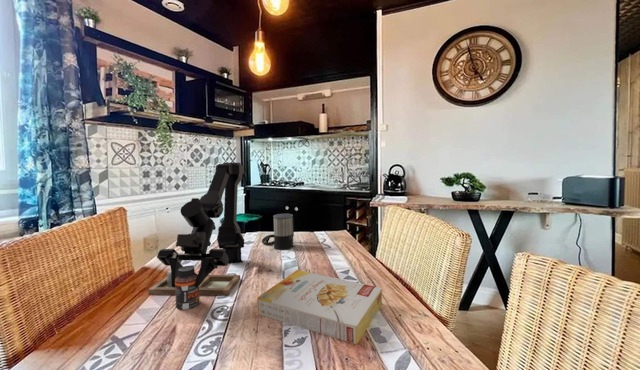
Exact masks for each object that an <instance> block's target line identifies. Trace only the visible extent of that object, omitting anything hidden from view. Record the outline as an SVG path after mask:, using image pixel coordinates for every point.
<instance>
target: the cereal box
mask: <svg viewBox="0 0 640 370" xmlns="http://www.w3.org/2000/svg"><path fill="white" fill-rule="evenodd" d="M382 299H383V289H382V287H379V286H375V285H374V286H373V285H368V284H365V283H359V282H355V281H351V280H346V279H343V278H342V279H341V278H337V277H332V276H328V275H323V274H318V273H314V272H309V271H304V270H299V269H296V270H295V271H293V272H292V273H291V274H289V275H288V276H286V277H285V278H283V279H282V280H281V281H279V282H278V283H276V284H275V285H273V286H272V287H271V288H269V289H268V290H266V291H265V292H263V293H262V294H260V295H259V296H257V299H256V300H257V313H258V315H260V316H263V317H266V318H270V319H274V320H276V321H278V322H279V321H280V322H282V323H286V324H290V325H292V326H296V327H299V328H301V329H305V330H308V331H312V332H315V333H319V334H322V335H324V336H325V335H326V336H328V337H332V338H334V339H338V340H342V341H345V342H347V343H352V344H355V345H357V344H359V342H360V340H361V339H362V338H363V336H364V334H365V332H366V331H367V329H368V328H369V325H370V324H371V322H372V321H373V319H374V317H375V316H376V314H377V312H378V311H379V310H380V308H381V306H382V304H383V300H382Z"/></svg>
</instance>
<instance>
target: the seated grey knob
mask: <svg viewBox="0 0 640 370" xmlns="http://www.w3.org/2000/svg"><path fill="white" fill-rule="evenodd" d="M166 276H167V284H168V287H172V283H171V268H170V269H169V270H168V272H167V273H166Z"/></svg>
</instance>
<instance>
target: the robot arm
mask: <svg viewBox="0 0 640 370" xmlns="http://www.w3.org/2000/svg"><path fill="white" fill-rule="evenodd" d="M244 168H245V167H244V165H242V164H241V162H223V163H218V164H216V166H215V172H214V174H213V177H212V180H211V181H210V185H209V187H208V190H207V192H206V193H205V194H204V195H202V196H200V198H198V197H197V198H196V197H192V198H191V200H190V201H187V202H186V203H185V204H183V206H181V208H180V214H181V216H182V217H183V218H184V220H185V221H186V222H187V224H188V225H189V226H190V227H191V228H192V229H191V230H192V231H191V233H187V234H184V233H183V234H182V233H181V234H177V238H176V241H175V247H180V250H181V251H182V252H183V253H178V252H177V251H176V250H175V248H161V249H160V250H159V251H158V253H157V255H156V259H158V260H159V261H160V262H161V263H162V264H163V265H164V266H166V267H169V266H170V269H171V283H172V287H173V288H174V287H175V278H176V277H177V276H178V275H179V274H178V269H179V268H181V267H184V265H182V261H185V262H186V261H189V262H190V261H195V262H196V261H200V268H199V270H198V272H197V273H198V274H197V275H198V276H197V279H196V282H195V287H196V288H198V286H199V285H200V284H201V283H202V282H203V280H204V279H205V278H206V277H207V276H208V275H211V273H212V272H213V271H214V270H215V269H218V268H219V267H227V266H228V264H242V263H244V260H242V248H245V238H244V237H243V234H242V233H241V227H240V225H239V224H238V222H237V218H238V215H237V213H238V191H239V190H238V189H239V188H238V186H239V184H240V183H241V181H242V180H243V174H244V172H245V169H244ZM223 195H224V204H223V202H222V197H223ZM222 215H223V222H222V224H221V225H220V226H218V228H217V231H218V233H217V237H216V240H217V245H218V248H211V249H209V251H208V248H209V247H210V246H211V244H212V243H211V237H212V234H213V232H214V231H216V224H215V222H214V220H213V219H218V218H220V217H221V216H222ZM207 251H208V253H207Z"/></svg>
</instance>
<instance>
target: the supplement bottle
mask: <svg viewBox="0 0 640 370" xmlns="http://www.w3.org/2000/svg"><path fill="white" fill-rule="evenodd" d="M178 274H179V275H178V276H177V277H176V278H175V294H174V295H175V308H176V309H177V310H180V311H187V310H188V311H189V310H192V309H193V308H195V307H198V306H199V304H200V303H201V302H200V301H201V300H200V297H201V295H199V286H198V288H196V287H195V282H196V279H197V276H198V274H197V273H196V270H195V266H193V265H185V266H184V265H183V267H181V268H179V269H178Z"/></svg>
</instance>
